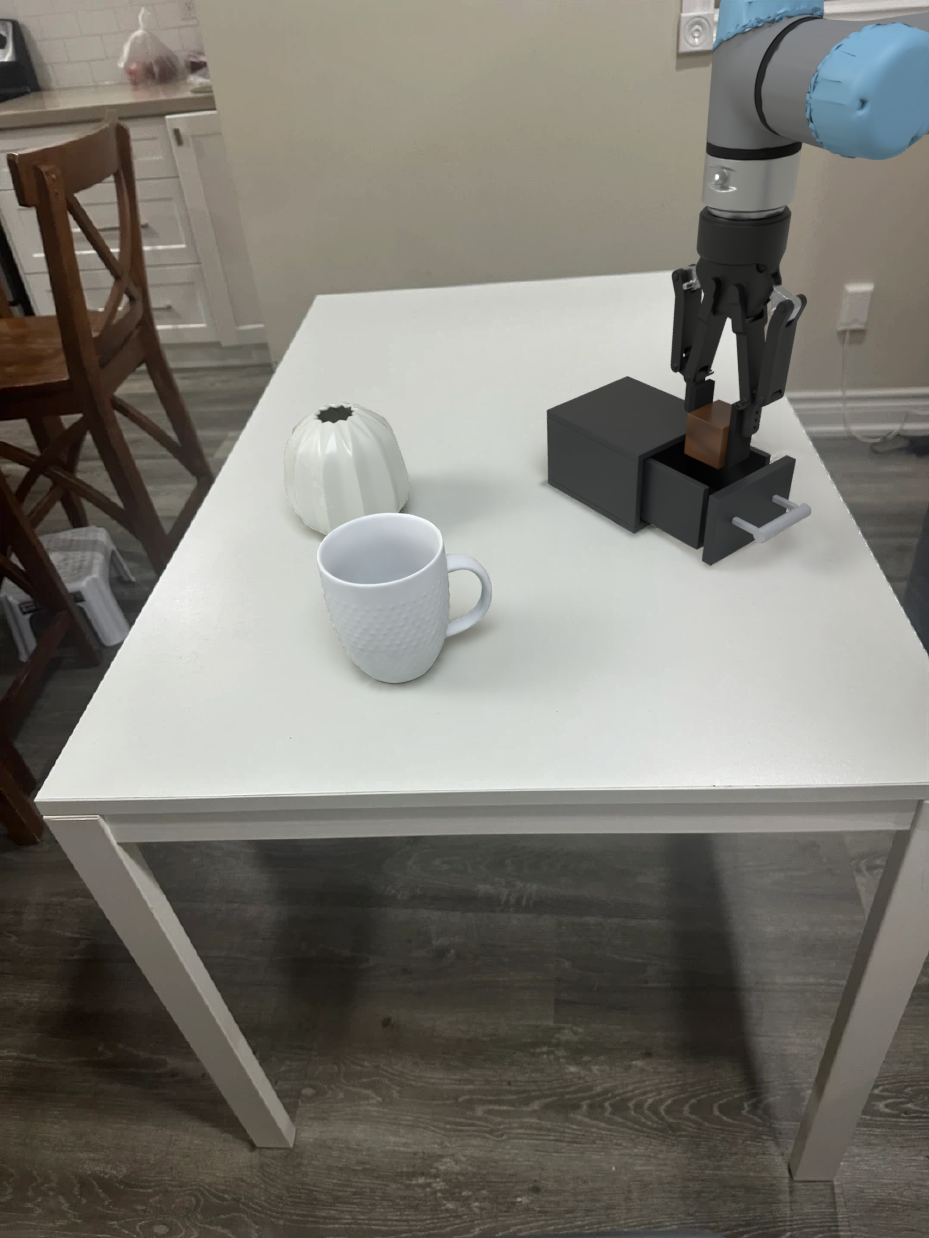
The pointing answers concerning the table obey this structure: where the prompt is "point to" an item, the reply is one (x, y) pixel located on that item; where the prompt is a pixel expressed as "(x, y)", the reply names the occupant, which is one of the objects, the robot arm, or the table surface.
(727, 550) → the drawer
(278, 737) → the table surface
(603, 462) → the cabinet
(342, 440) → the vase
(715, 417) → the block
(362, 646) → the mug
